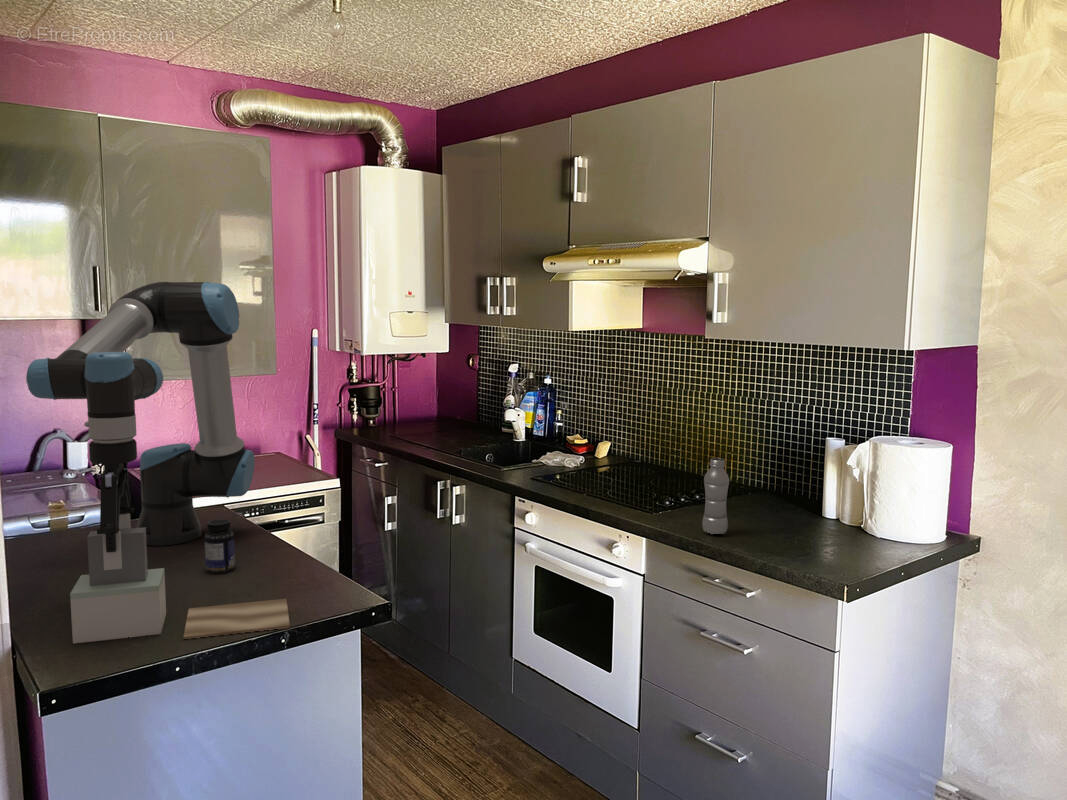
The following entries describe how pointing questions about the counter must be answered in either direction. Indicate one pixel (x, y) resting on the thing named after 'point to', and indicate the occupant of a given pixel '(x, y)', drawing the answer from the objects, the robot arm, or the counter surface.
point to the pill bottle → (219, 547)
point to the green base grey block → (118, 580)
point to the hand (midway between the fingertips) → (118, 558)
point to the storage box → (118, 616)
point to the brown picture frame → (236, 618)
